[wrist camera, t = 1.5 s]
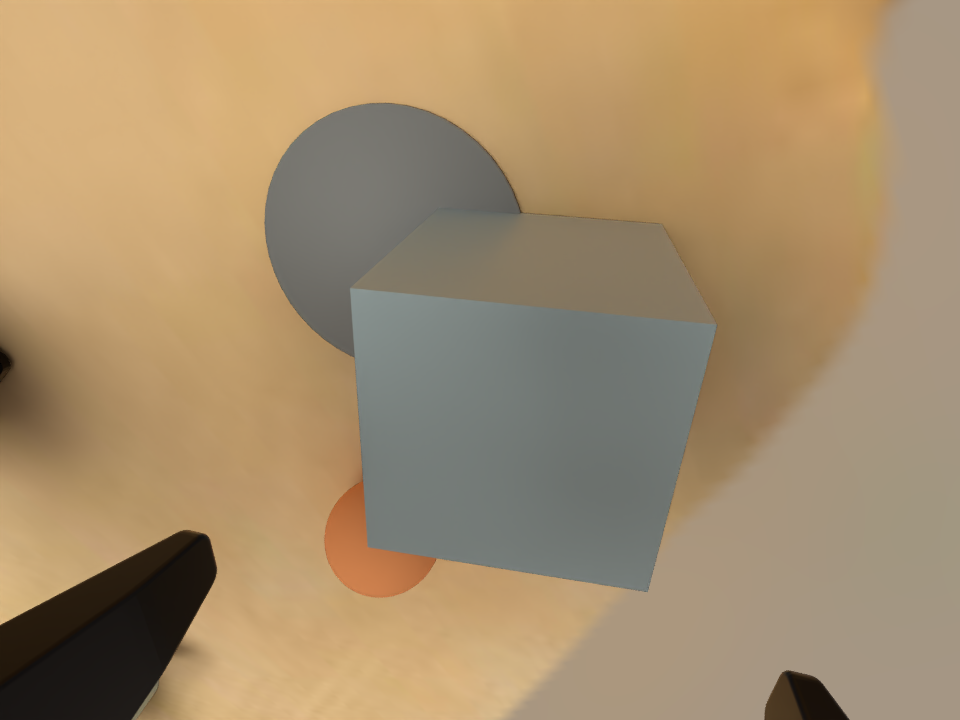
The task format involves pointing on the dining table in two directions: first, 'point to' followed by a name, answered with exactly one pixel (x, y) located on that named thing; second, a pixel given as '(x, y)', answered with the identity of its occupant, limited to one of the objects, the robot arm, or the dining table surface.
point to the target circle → (366, 201)
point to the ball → (367, 553)
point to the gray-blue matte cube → (528, 392)
